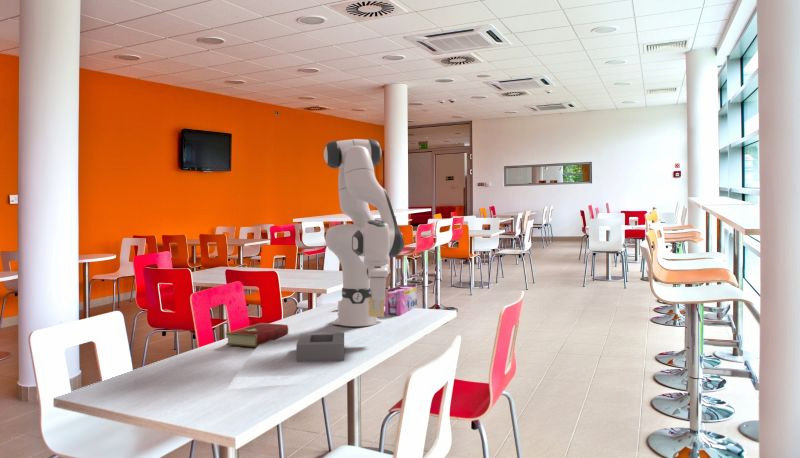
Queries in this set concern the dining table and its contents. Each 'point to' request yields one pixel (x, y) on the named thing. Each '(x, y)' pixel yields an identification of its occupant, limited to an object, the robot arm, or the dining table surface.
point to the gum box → (400, 299)
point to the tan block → (376, 313)
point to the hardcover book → (256, 334)
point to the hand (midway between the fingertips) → (376, 309)
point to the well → (320, 347)
